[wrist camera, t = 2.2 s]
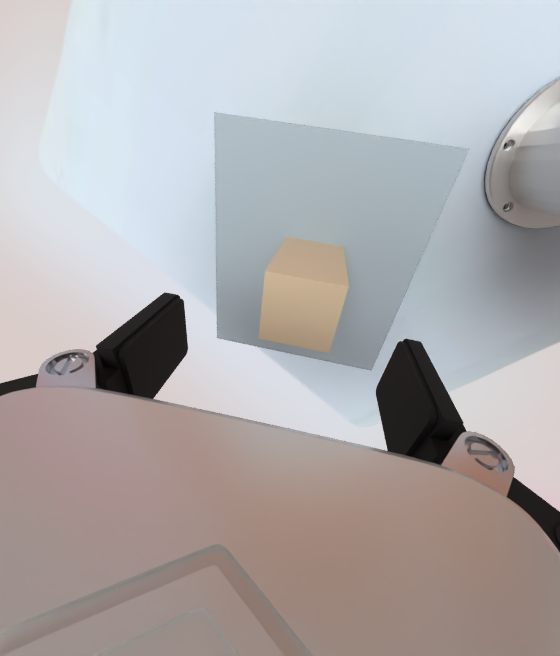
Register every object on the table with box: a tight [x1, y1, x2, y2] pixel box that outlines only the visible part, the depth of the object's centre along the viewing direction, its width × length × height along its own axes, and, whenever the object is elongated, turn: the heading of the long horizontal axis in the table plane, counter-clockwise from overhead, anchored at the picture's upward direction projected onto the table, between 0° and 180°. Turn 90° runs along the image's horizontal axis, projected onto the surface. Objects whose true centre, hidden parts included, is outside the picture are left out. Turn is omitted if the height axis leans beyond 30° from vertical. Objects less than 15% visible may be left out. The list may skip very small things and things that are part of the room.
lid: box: [214, 112, 469, 370], centre depth 17 cm, size 14×16×9 cm
